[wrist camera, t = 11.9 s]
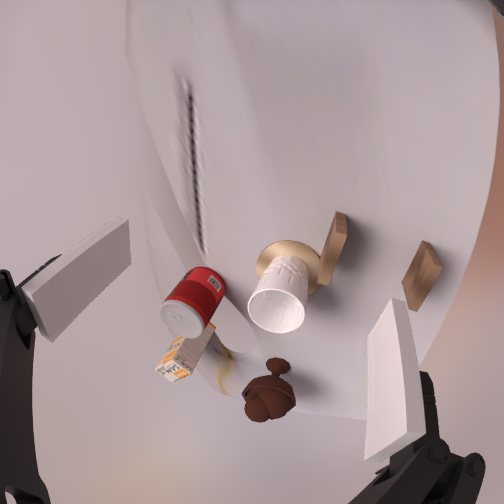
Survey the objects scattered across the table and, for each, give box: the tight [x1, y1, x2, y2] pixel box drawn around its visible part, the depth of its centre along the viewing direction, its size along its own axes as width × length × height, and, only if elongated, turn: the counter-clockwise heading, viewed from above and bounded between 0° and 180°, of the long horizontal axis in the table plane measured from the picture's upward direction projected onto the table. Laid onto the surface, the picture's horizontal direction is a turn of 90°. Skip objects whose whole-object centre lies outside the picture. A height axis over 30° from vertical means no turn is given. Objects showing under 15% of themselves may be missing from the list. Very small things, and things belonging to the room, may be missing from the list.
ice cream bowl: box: [242, 358, 296, 422], centre depth 53 cm, size 11×11×15 cm
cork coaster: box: [256, 240, 321, 296], centre depth 46 cm, size 11×11×1 cm
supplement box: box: [155, 322, 216, 382], centre depth 54 cm, size 8×5×13 cm, turn 138°
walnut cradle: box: [317, 212, 443, 312], centre depth 37 cm, size 8×16×7 cm, turn 80°
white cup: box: [248, 255, 309, 333], centre depth 42 cm, size 8×8×10 cm
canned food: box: [159, 267, 225, 339], centre depth 48 cm, size 8×8×11 cm
